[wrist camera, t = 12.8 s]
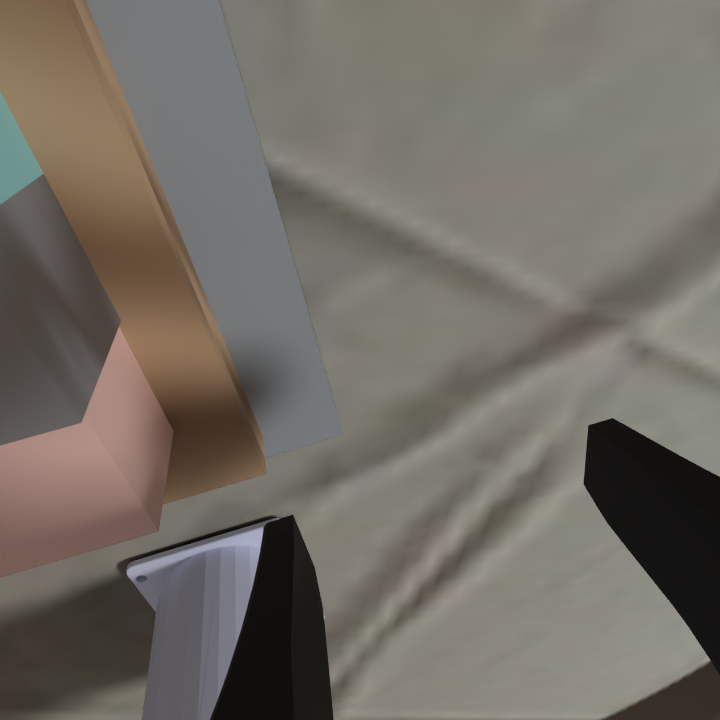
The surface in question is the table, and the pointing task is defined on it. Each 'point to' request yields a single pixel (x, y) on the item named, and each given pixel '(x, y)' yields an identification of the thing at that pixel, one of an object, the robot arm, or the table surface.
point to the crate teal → (14, 156)
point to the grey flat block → (222, 204)
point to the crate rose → (87, 473)
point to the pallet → (103, 261)
